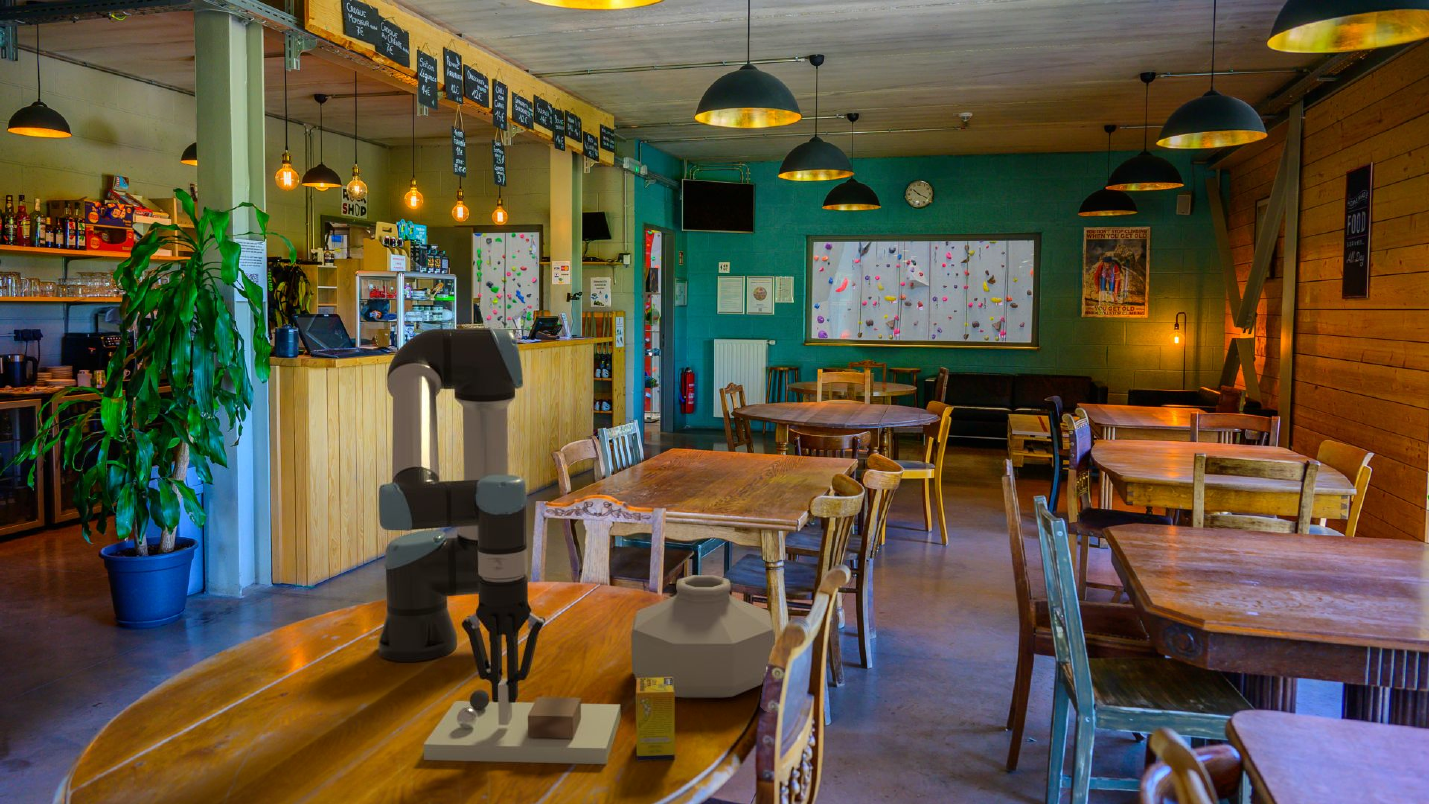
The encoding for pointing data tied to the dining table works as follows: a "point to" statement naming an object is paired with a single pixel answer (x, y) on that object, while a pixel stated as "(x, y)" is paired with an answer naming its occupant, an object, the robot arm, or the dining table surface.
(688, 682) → the pot
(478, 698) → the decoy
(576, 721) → the cover
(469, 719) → the ball
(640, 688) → the supplement box
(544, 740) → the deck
